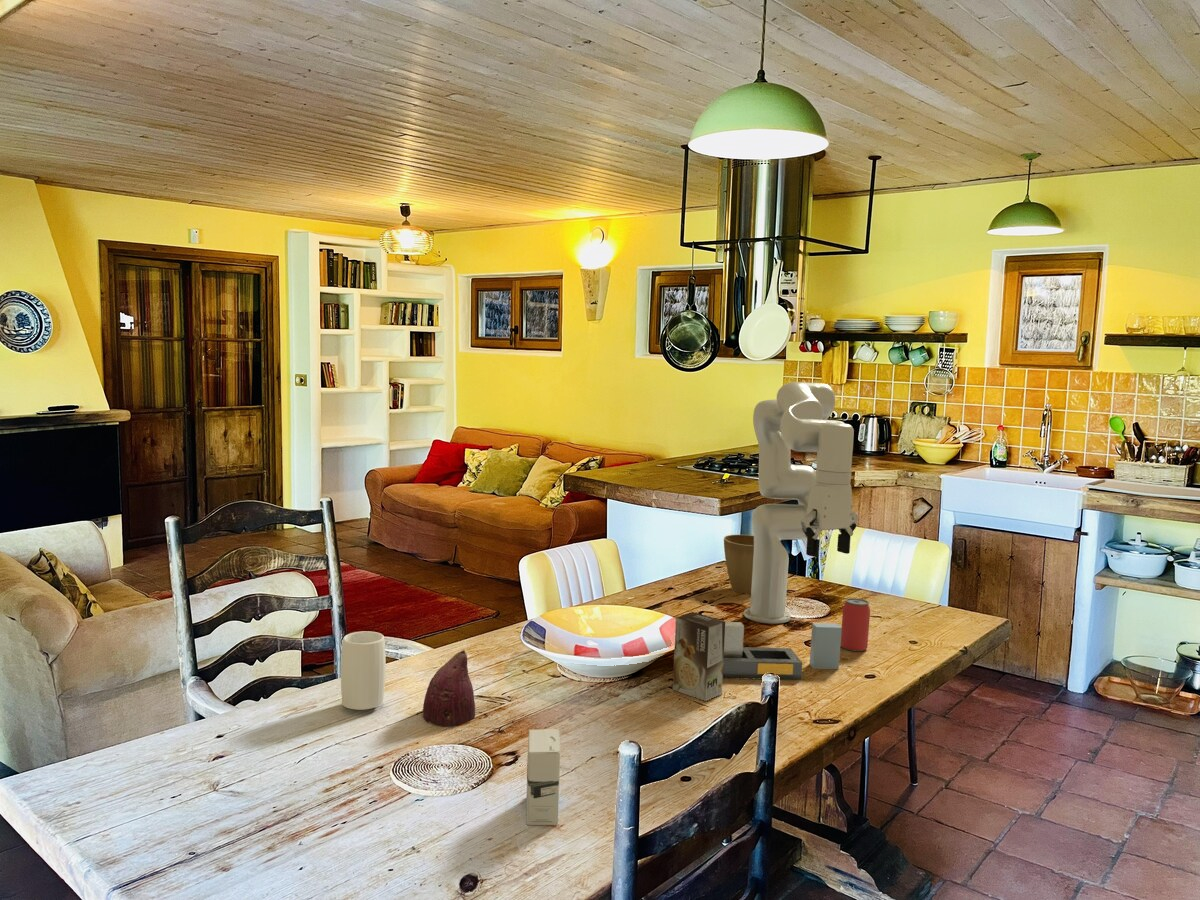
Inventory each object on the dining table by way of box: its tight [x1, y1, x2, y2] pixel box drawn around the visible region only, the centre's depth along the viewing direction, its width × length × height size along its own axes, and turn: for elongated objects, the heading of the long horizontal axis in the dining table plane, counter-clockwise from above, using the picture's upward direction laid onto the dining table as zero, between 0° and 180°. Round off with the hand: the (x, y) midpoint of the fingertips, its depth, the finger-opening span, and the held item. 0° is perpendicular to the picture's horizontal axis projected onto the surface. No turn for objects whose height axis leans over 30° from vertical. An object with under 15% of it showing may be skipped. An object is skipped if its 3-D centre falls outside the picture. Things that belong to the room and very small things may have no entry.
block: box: [809, 622, 842, 670], centre depth 210 cm, size 3×6×10 cm, turn 94°
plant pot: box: [723, 534, 754, 594], centre depth 274 cm, size 15×15×16 cm
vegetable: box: [422, 649, 476, 728], centre depth 174 cm, size 10×10×15 cm
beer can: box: [840, 597, 871, 652], centre depth 225 cm, size 7×7×12 cm
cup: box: [340, 630, 387, 711], centre depth 176 cm, size 8×8×14 cm
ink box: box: [526, 728, 561, 826], centre depth 139 cm, size 8×5×12 cm, turn 5°
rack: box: [722, 621, 803, 681], centre depth 205 cm, size 10×22×11 cm, turn 94°
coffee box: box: [672, 611, 726, 702], centre depth 191 cm, size 9×6×16 cm
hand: (827, 554), depth 202 cm, fingers open, 9 cm apart
